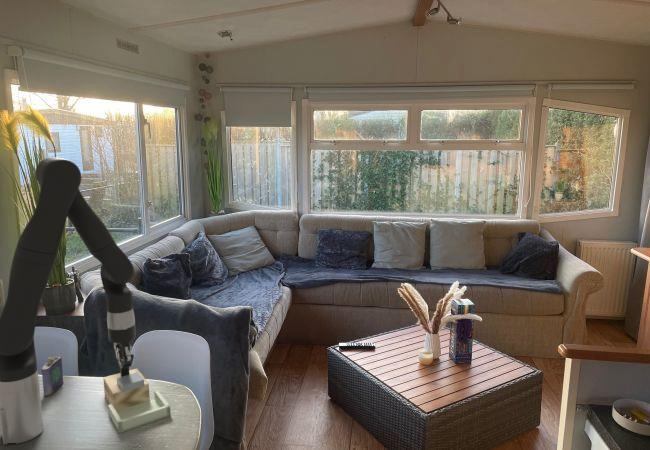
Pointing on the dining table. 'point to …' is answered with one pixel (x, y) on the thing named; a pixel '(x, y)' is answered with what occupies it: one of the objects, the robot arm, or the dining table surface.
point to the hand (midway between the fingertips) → (125, 377)
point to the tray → (140, 413)
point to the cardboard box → (124, 398)
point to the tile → (130, 382)
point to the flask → (52, 375)
